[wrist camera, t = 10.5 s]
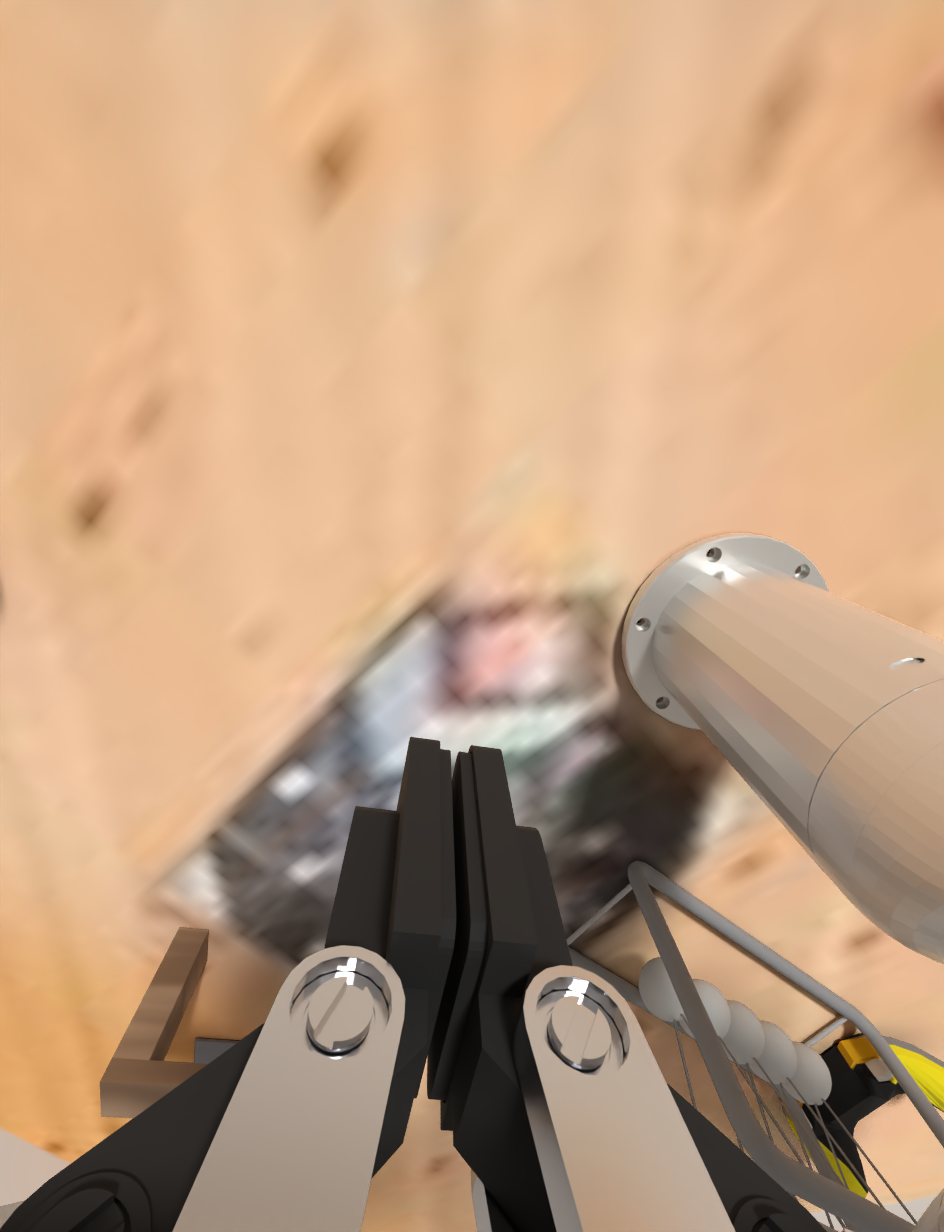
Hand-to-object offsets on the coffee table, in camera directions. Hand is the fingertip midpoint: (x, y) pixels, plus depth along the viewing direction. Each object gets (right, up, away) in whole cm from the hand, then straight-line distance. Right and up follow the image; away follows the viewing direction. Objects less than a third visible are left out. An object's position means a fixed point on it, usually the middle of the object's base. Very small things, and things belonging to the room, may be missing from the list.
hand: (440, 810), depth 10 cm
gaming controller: (+34, -38, +39) cm, 65 cm away
